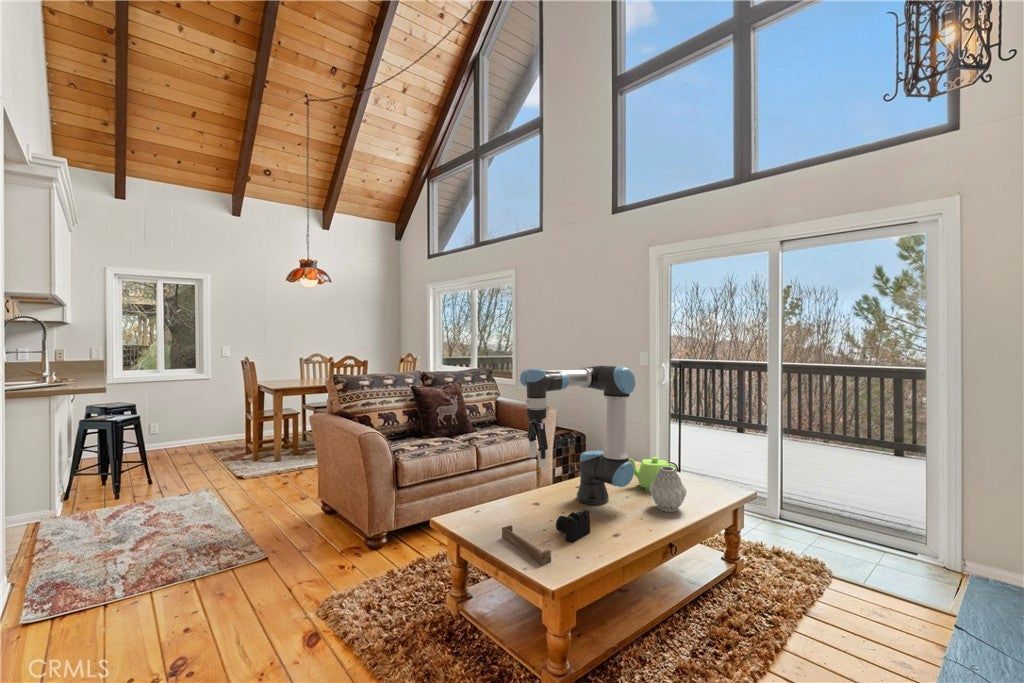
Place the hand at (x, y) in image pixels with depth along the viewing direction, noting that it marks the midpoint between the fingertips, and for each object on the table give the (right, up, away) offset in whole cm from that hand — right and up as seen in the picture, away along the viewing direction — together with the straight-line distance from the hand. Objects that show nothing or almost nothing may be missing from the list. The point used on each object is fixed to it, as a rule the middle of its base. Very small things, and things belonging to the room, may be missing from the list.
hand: (537, 461), depth 184 cm
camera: (+14, -30, +3) cm, 33 cm away
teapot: (+62, -28, +59) cm, 90 cm away
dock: (-5, -30, -9) cm, 32 cm away
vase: (+61, -29, +28) cm, 73 cm away
